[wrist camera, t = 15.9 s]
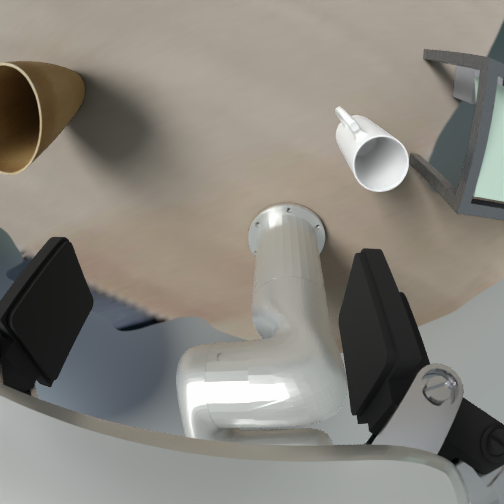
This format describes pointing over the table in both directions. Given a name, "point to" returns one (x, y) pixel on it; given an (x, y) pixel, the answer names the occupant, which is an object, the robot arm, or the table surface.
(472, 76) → the grey cube
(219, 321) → the table surface
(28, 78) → the plant pot
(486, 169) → the trapdoor
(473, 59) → the stand
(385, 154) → the mug
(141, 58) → the table surface
